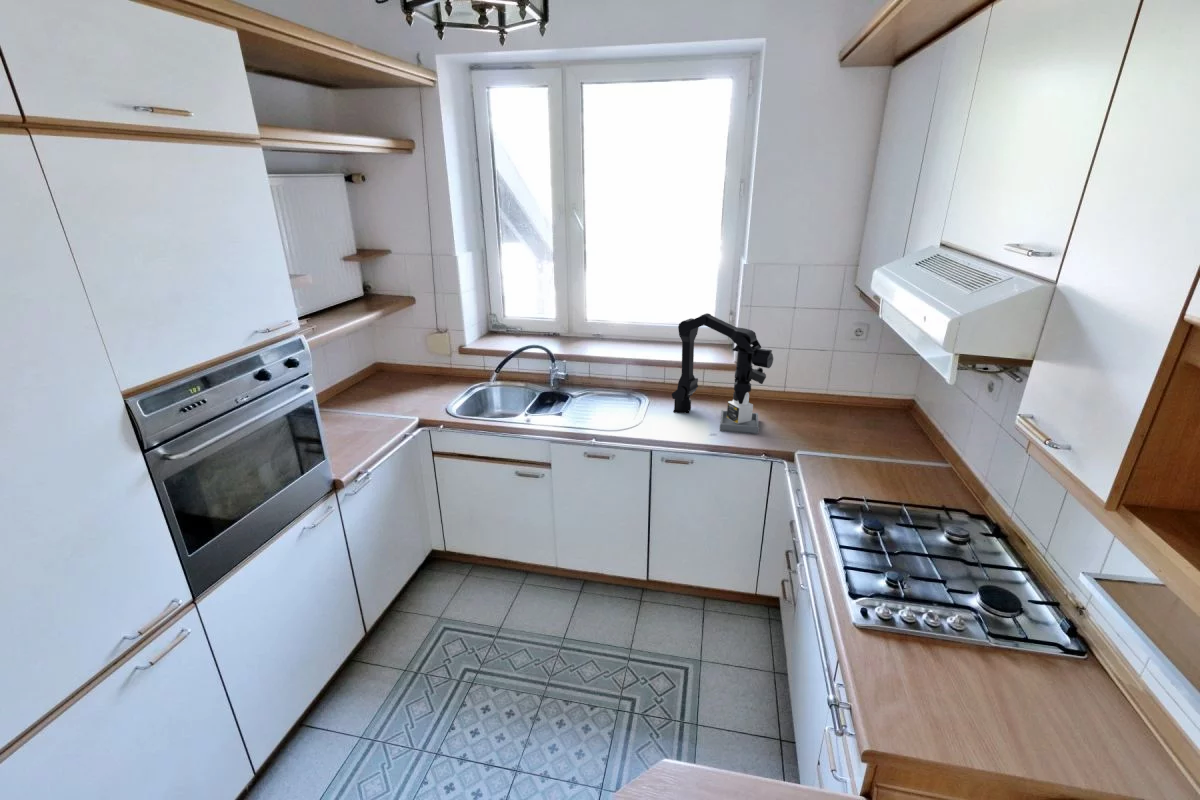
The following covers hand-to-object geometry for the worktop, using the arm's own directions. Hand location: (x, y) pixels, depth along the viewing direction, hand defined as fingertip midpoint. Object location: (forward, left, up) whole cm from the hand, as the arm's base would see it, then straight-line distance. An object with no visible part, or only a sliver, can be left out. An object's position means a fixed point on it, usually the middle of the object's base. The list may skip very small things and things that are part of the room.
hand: (740, 400), depth 222 cm
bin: (0, 0, -11) cm, 11 cm away
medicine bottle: (0, 0, -8) cm, 8 cm away
